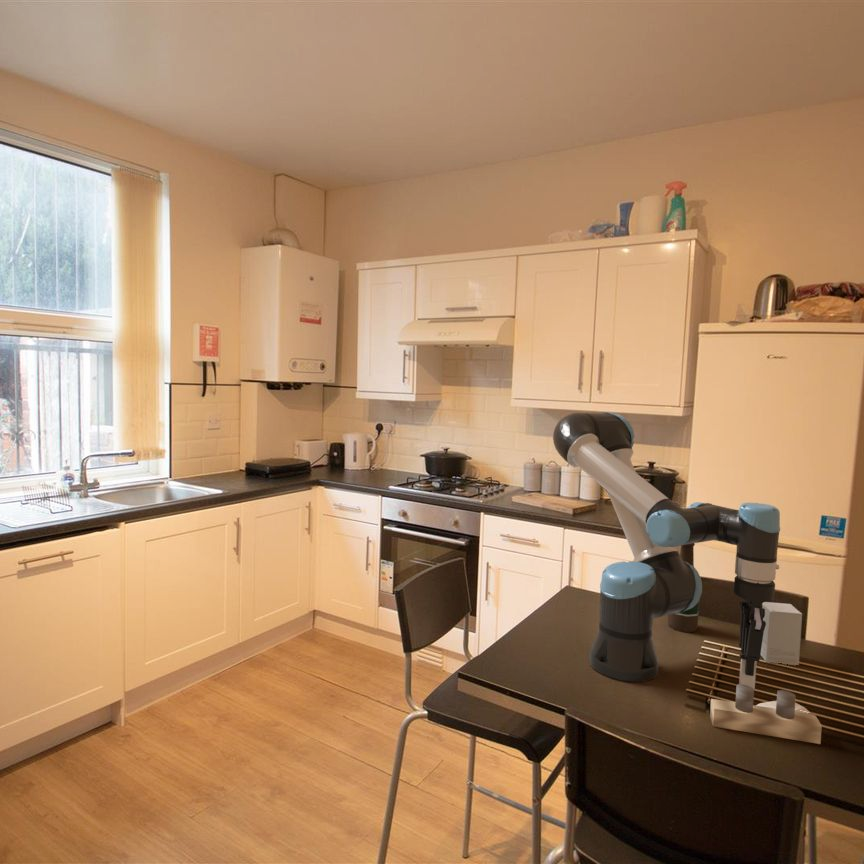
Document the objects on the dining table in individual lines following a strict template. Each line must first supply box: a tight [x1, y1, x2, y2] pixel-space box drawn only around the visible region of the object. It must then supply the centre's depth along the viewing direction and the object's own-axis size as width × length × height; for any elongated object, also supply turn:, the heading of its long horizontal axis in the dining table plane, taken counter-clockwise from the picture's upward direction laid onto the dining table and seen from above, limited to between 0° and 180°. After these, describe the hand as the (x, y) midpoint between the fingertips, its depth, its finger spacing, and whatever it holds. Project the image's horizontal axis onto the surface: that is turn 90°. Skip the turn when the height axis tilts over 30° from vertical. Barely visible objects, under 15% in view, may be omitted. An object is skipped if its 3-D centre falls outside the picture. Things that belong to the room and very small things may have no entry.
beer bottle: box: [667, 543, 700, 633], centre depth 166 cm, size 8×8×24 cm
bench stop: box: [709, 683, 823, 745], centre depth 116 cm, size 18×4×8 cm, turn 74°
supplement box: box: [760, 601, 803, 666], centre depth 148 cm, size 7×7×13 cm
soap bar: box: [755, 700, 810, 714], centre depth 121 cm, size 5×9×3 cm, turn 107°
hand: (746, 687), depth 129 cm, fingers closed
